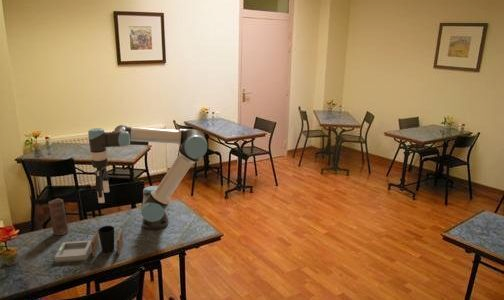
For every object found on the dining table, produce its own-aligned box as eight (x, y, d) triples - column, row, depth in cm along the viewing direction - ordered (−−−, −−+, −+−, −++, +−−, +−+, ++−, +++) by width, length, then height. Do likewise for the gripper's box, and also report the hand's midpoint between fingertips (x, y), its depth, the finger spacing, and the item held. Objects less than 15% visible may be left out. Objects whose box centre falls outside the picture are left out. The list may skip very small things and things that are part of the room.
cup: (110, 255, 187) (108, 233, 184) (97, 253, 189) (94, 232, 185) (119, 247, 195) (117, 226, 191) (105, 245, 196) (103, 224, 193)
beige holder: (122, 244, 198) (121, 230, 195) (120, 254, 188) (118, 240, 186) (97, 246, 195) (95, 232, 193) (92, 256, 186) (91, 242, 184)
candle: (55, 237, 202) (50, 204, 196) (51, 232, 207) (46, 199, 202) (70, 233, 207) (65, 200, 201) (66, 228, 212) (61, 196, 207)
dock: (92, 245, 196) (91, 239, 195) (86, 260, 183) (85, 254, 182) (63, 247, 193) (62, 241, 192) (55, 262, 180) (54, 256, 179)
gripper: (96, 152, 201) (101, 188, 207) (85, 167, 177) (91, 207, 183) (111, 151, 202) (115, 187, 208) (102, 166, 179) (107, 206, 185)
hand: (104, 197), depth 196 cm, fingers open, 13 cm apart
